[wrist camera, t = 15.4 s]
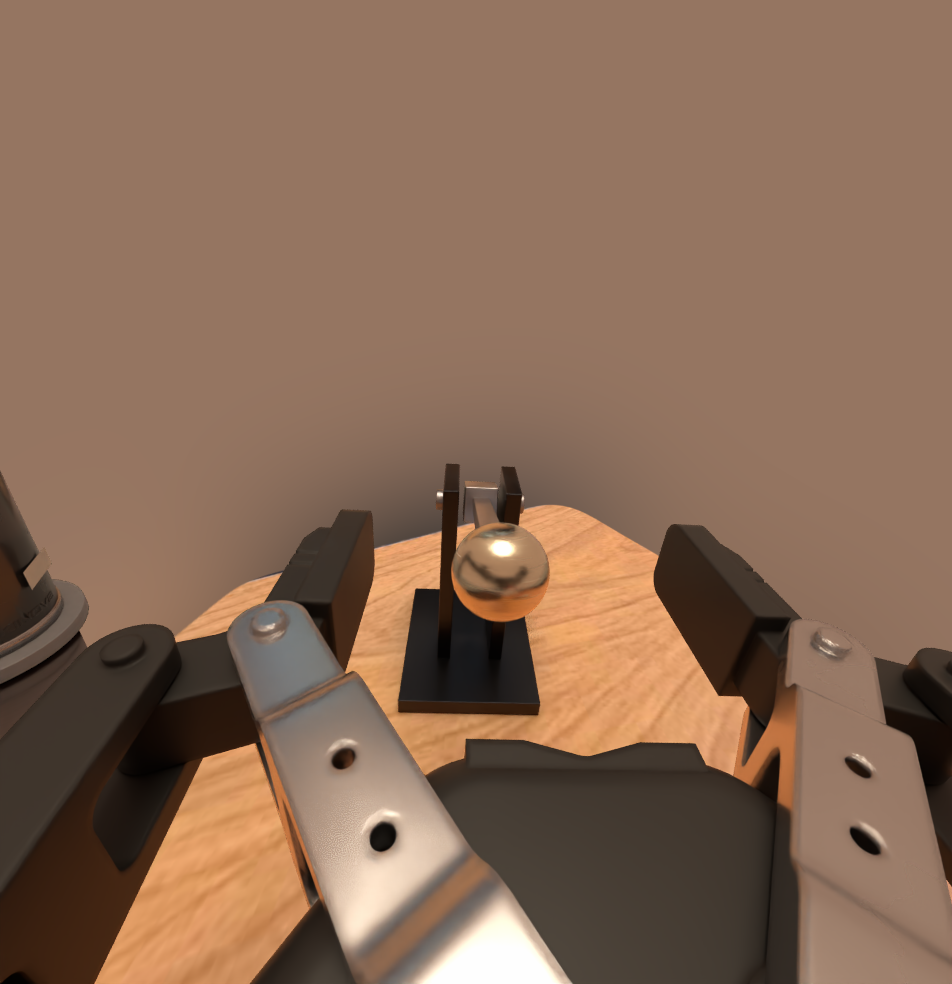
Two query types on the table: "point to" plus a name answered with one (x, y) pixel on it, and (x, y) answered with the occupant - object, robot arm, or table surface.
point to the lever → (497, 561)
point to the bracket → (466, 633)
